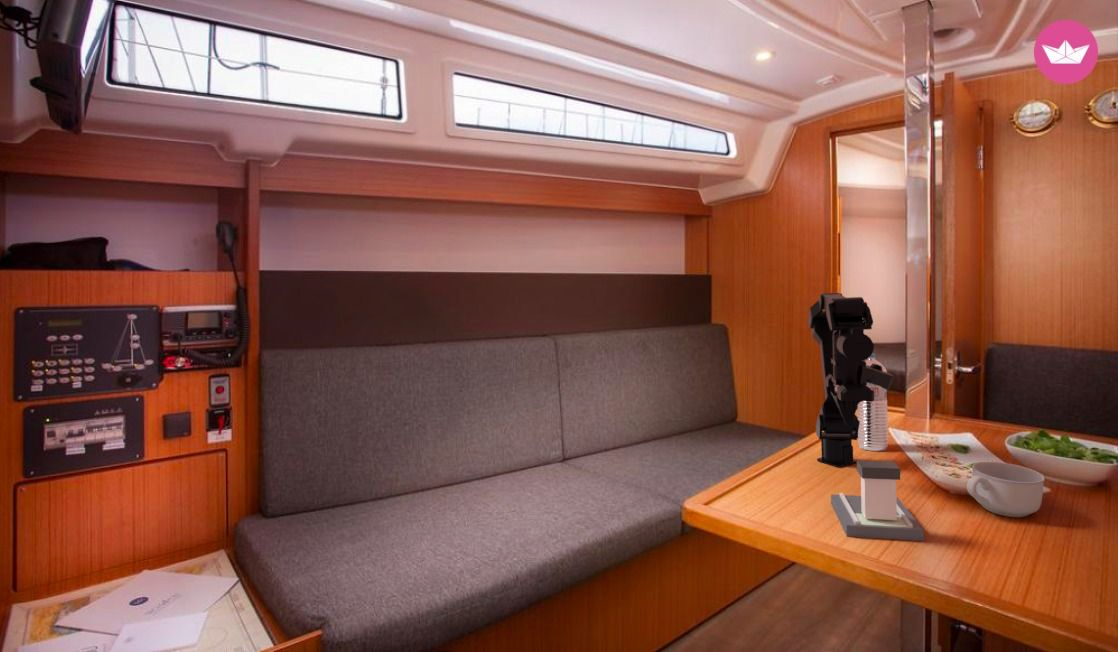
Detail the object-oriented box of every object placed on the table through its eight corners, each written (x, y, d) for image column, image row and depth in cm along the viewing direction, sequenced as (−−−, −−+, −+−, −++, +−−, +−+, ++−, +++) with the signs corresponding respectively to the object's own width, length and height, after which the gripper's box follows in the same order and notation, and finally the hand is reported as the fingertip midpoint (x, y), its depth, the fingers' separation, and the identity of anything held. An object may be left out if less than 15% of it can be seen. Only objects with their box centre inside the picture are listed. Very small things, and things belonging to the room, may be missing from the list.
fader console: (831, 504, 115) (830, 491, 115) (897, 507, 112) (897, 494, 112) (846, 536, 101) (846, 522, 101) (923, 541, 98) (923, 526, 97)
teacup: (1011, 498, 113) (1011, 459, 113) (1060, 521, 102) (1061, 477, 102) (942, 503, 113) (942, 463, 112) (985, 526, 102) (985, 482, 101)
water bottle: (852, 447, 152) (850, 354, 150) (869, 443, 155) (868, 351, 153) (876, 453, 146) (874, 356, 144) (893, 449, 148) (892, 353, 147)
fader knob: (857, 510, 106) (856, 460, 105) (894, 512, 104) (893, 461, 103) (862, 519, 102) (862, 467, 101) (900, 521, 100) (900, 468, 99)
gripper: (902, 360, 113) (903, 437, 114) (877, 349, 131) (878, 416, 132) (840, 361, 116) (842, 436, 117) (824, 350, 134) (826, 415, 135)
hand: (848, 425), depth 125 cm, fingers closed
